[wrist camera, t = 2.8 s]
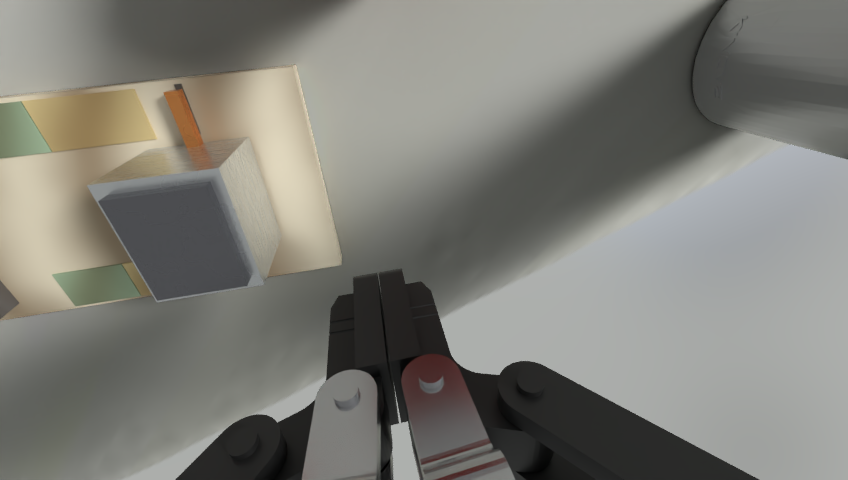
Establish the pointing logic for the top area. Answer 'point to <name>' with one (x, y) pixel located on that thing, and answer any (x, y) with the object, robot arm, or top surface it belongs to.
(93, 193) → the block
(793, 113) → the robot arm
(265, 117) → the board
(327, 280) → the top surface
